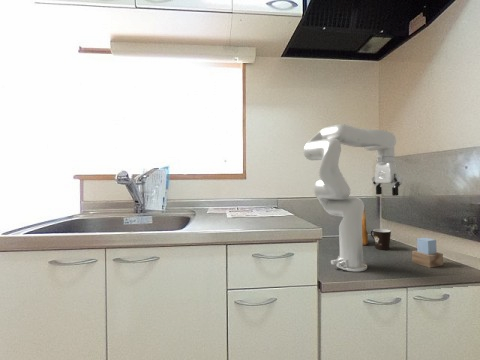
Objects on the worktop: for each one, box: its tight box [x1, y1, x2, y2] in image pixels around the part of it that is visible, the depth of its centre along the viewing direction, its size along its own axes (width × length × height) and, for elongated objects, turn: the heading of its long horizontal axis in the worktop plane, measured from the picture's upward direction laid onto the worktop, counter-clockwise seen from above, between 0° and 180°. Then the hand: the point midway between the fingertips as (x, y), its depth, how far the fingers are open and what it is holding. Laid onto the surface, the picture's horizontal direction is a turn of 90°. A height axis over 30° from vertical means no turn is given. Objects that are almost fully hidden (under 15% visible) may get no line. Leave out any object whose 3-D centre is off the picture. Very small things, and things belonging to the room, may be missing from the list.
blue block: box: [416, 237, 438, 255], centre depth 117 cm, size 5×5×6 cm
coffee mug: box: [370, 228, 392, 251], centre depth 144 cm, size 12×9×10 cm
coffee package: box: [362, 209, 369, 246], centre depth 154 cm, size 10×12×22 cm
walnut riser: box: [411, 250, 444, 268], centre depth 117 cm, size 8×8×5 cm
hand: (386, 194), depth 131 cm, fingers open, 9 cm apart
